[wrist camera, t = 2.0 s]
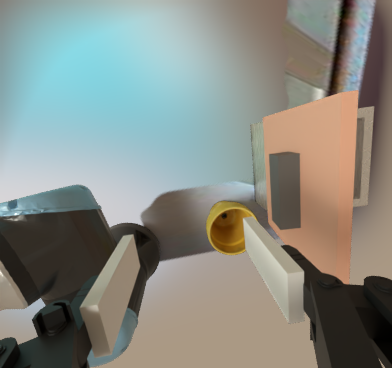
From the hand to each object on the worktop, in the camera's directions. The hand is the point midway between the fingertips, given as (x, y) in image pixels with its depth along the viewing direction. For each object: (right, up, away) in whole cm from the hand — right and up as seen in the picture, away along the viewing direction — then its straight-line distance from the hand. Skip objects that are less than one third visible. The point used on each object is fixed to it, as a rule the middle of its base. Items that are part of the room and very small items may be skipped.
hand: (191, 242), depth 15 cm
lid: (+14, +4, +11) cm, 18 cm away
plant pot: (+7, -3, +34) cm, 34 cm away
